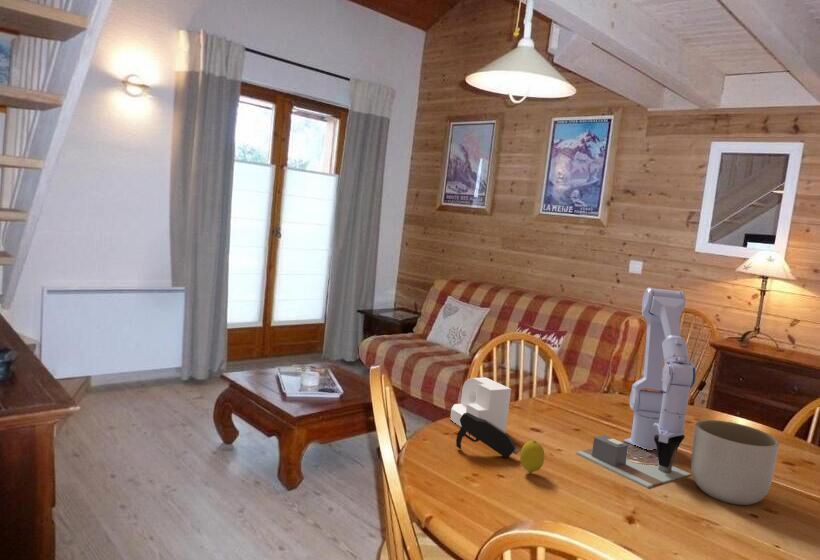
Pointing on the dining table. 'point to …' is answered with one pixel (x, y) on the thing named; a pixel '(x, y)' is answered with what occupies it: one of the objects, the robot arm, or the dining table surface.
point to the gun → (485, 434)
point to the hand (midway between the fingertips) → (665, 463)
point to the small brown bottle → (669, 468)
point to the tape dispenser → (483, 402)
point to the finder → (610, 450)
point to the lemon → (532, 456)
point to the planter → (733, 461)
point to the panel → (638, 471)
